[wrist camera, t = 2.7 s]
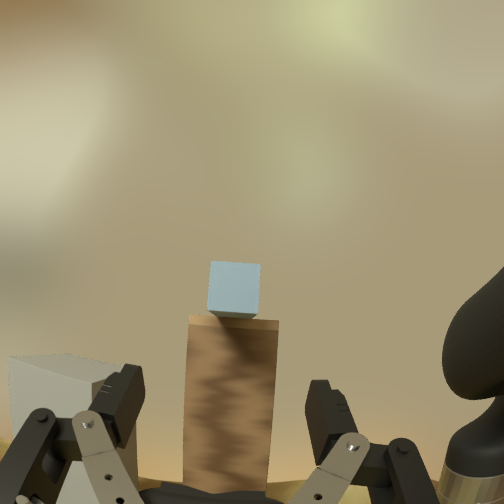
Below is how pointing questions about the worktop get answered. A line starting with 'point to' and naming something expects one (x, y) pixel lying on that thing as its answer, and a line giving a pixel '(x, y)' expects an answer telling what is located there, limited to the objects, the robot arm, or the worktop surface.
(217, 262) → the blue bar
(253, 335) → the walnut stand
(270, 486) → the worktop surface
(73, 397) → the grey step
